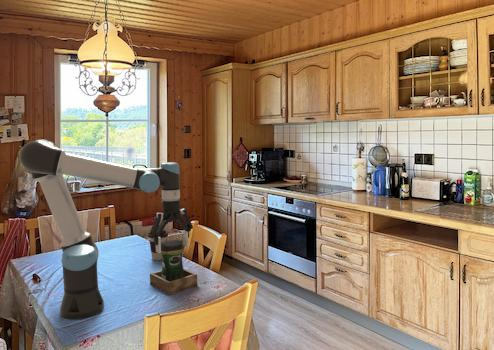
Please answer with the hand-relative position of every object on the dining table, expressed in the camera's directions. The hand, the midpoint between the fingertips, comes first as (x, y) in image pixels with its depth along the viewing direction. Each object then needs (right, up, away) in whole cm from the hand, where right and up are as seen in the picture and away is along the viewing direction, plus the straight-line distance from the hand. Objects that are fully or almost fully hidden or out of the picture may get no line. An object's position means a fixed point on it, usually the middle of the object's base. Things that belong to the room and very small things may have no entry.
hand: (172, 249), depth 175 cm
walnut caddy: (0, -16, +2) cm, 16 cm away
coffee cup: (-14, -12, +38) cm, 42 cm away
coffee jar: (0, -15, +2) cm, 15 cm away
